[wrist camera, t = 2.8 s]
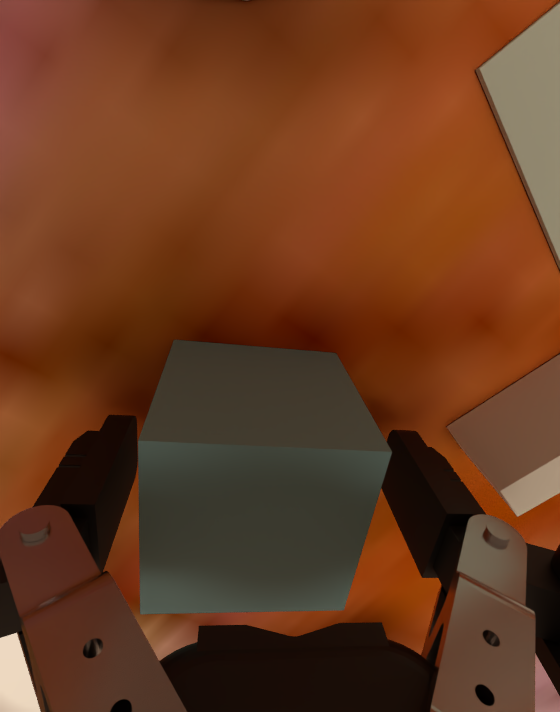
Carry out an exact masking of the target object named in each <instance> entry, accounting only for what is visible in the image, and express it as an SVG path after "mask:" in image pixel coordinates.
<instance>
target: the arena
mask: <svg viewBox="0 0 560 712" xmlns="http://www.w3.org/2000/svg"><path fill="white" fill-rule="evenodd" d="M475 71H476V73H477V75H478V78H479V80H480V82H481V85H482V87H483V90H484V92H485V94H486V97H487V99H488V101H489V104H490V106H491V109H492V111H493V113H494V116H495V118H496V120H497V123H498V125H499V127H500V130H501V132H502V135H503V137H504V139H505V142H506V144H507V146H508V149H509V151H510V154H511V156H512V158H513V161H514V163H515V165H516V168H517V170H518V172H519V175H520V177H521V180H522V182H523V184H524V187H525V189H526V191H527V194H528V196H529V199H530V201H531V203H532V206H533V208H534V210H535V213H536V215H537V217H538V220H539V222H540V225H541V227H542V229H543V232H544V234H545V236H546V239H547V241H548V244H549V246H550V248H551V251H552V253H553V255H554V258H555V260H556V262H557V265H558V267H559V270H560V2H559V3H557V4H556V5H555V6H554V7H552V8H551V9H550V10H549V11H547V12H546V13H545V14H544V15H543V16H541V17H540V18H539V19H538V20H536V21H535V22H534V23H533V24H532V25H530V26H529V27H528V28H527V29H525V30H524V31H523V32H522V33H520V34H519V35H518V36H517V37H516V38H514V39H513V40H512V41H511V42H509V43H508V44H507V45H506V46H504V47H503V48H502V49H501V50H500V51H498V52H497V53H496V54H495V55H493V56H492V57H491V58H490V59H489V60H487V61H486V62H485V63H484V64H482V65H481V66H480V67H479V68H477V69H476V70H475ZM447 429H448V430H449V431H450V433H451V434H452V436H453V437H454V439H455V440H456V441H457V443H458V444H459V446H460V447H461V449H462V450H463V451H464V452H465V454H466V455H467V456H468V457H469V458H470V460H471V461H472V462H473V463H474V464H475V466H476V467H477V468H478V469H479V471H480V472H481V473H482V474H483V475H484V477H485V478H486V479H487V480H488V481H489V483H490V484H491V485H492V486H493V487H494V489H495V490H496V491H497V492H498V494H499V495H500V496H501V497H502V498H503V500H504V501H505V502H506V503H507V504H508V506H509V507H510V508H511V509H512V510H513V512H514V513H515V514H516V515H517V517H518V516H520V515H521V514H523V513H525V512H527V511H528V510H530V509H532V508H534V507H535V506H537V505H539V504H541V503H542V502H544V501H546V500H548V499H549V498H551V497H553V496H555V495H556V494H558V493H560V354H559V355H557V356H556V357H554V358H553V359H551V360H550V361H548V362H546V363H545V364H543V365H542V366H540V367H539V368H537V369H536V370H534V371H532V372H531V373H529V374H528V375H526V376H525V377H523V378H522V379H520V380H518V381H517V382H515V383H514V384H512V385H511V386H509V387H508V388H506V389H504V390H503V391H501V392H500V393H498V394H497V395H495V396H493V397H492V398H490V399H489V400H487V401H486V402H484V403H483V404H481V405H479V406H478V407H476V408H475V409H473V410H472V411H470V412H469V413H467V414H465V415H464V416H462V417H461V418H459V419H458V420H456V421H454V422H453V423H451V424H450V425H448V426H447Z"/></svg>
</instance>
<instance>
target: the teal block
mask: <svg viewBox="0 0 560 712" xmlns="http://www.w3.org/2000/svg"><path fill="white" fill-rule="evenodd" d="M391 454H392V451H391V449H390V447H389V446H388V444H387V442H386V440H385V438H384V437H383V435H382V433H381V431H380V430H379V428H378V426H377V424H376V423H375V421H374V419H373V417H372V416H371V414H370V412H369V410H368V408H367V407H366V405H365V403H364V401H363V400H362V398H361V396H360V394H359V393H358V391H357V389H356V387H355V386H354V384H353V382H352V380H351V379H350V377H349V375H348V373H347V371H346V370H345V368H344V366H343V364H342V363H341V361H340V359H339V357H338V356H337V354H336V353H330V352H318V351H306V350H294V349H282V348H270V347H258V346H246V345H234V344H221V343H209V342H197V341H185V340H174V341H173V344H172V347H171V350H170V352H169V355H168V358H167V361H166V364H165V367H164V369H163V372H162V375H161V378H160V381H159V383H158V386H157V389H156V392H155V395H154V398H153V400H152V403H151V406H150V409H149V412H148V414H147V417H146V420H145V423H144V426H143V429H142V431H141V434H140V437H139V440H138V467H139V549H140V614H171V613H223V612H274V611H326V610H344V607H345V604H346V601H347V598H348V594H349V591H350V588H351V585H352V581H353V578H354V575H355V572H356V568H357V565H358V562H359V558H360V555H361V552H362V549H363V545H364V542H365V539H366V536H367V532H368V529H369V526H370V523H371V519H372V516H373V513H374V510H375V506H376V503H377V500H378V496H379V493H380V490H381V487H382V483H383V480H384V477H385V474H386V470H387V467H388V464H389V461H390V457H391Z"/></svg>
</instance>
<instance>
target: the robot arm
mask: <svg viewBox="0 0 560 712" xmlns="http://www.w3.org/2000/svg"><path fill="white" fill-rule="evenodd" d="M387 444H388V446H389V447H390V449H391V451H392V454H391V457H390V461H389V464H388V467H387V470H386V474H385V477H384V480H383V483H382V487H381V488H382V490H383V493H384V495H385V497H386V499H387V501H388V504H389V506H390V508H391V510H392V513H393V515H394V517H395V519H396V521H397V524H398V526H399V528H400V530H401V532H402V535H403V537H404V539H405V541H406V543H407V546H408V548H409V550H410V552H411V554H412V557H413V559H414V561H415V563H416V565H417V568H418V570H419V572H420V574H421V576H422V578H439V580H440V582H441V587H440V589H439V592H438V595H437V598H436V602H435V606H434V610H433V613H432V617H431V621H430V625H429V628H428V632H427V636H426V639H425V643H424V647H423V650H422V653H421V655H419V654H418V653H416V652H415V651H413V650H411V649H410V648H408V647H406V646H404V645H402V644H399V643H397V642H394V641H392V640H388V639H387V637H386V634H385V631H384V628H383V625H382V622H381V623H338V624H335V625H332V626H329V627H326V628H323V629H320V630H316V631H313V632H310V633H307V634H304V635H301V636H297V637H292V636H287V635H283V634H279V633H276V632H272V631H268V630H264V629H260V628H256V627H252V626H248V625H216V626H199V631H198V642H196V643H193V644H190V645H187V646H185V647H183V648H181V649H178V650H176V651H174V652H173V653H171V654H169V655H168V656H166V657H164V658H163V659H162V660H160V661H159V660H158V658H157V656H156V655H155V653H154V651H153V649H152V647H151V646H150V644H149V642H148V640H147V638H146V637H145V635H144V633H143V631H142V629H141V628H140V626H139V624H138V622H137V620H136V619H135V617H134V615H133V613H132V611H131V609H130V608H129V606H128V604H127V602H126V600H125V599H124V597H123V595H122V593H121V591H120V590H119V588H118V586H117V584H116V582H115V581H114V579H113V577H112V576H111V574H110V573H109V572H107V571H105V572H103V570H104V567H105V564H106V561H107V558H108V555H109V552H110V549H111V546H112V544H113V541H114V538H115V535H116V532H117V529H118V526H119V523H120V520H121V517H122V514H123V511H124V508H125V506H126V503H127V500H128V497H129V494H130V491H131V488H132V485H133V482H134V479H135V476H136V470H137V462H138V449H137V420H136V416H126V415H108V417H107V418H106V420H105V422H104V424H103V426H102V428H101V429H100V431H87V432H85V433H84V434H83V435H81V436H80V437H79V438H77V439H76V440H75V441H73V443H72V444H71V446H70V448H69V449H68V451H67V453H66V455H65V457H63V459H62V461H61V462H60V464H59V467H57V469H56V470H55V472H54V474H53V475H52V477H51V478H50V480H49V482H48V483H47V485H46V486H45V488H44V490H43V491H42V493H41V494H40V496H39V498H38V499H37V501H36V503H35V504H34V506H33V507H32V508H29V509H26V510H24V511H22V512H20V513H18V514H16V515H15V516H13V517H12V518H10V519H9V520H8V521H7V522H6V523H5V524H4V525H3V526H2V527H1V529H0V638H1V637H4V636H7V635H11V634H14V633H17V634H18V638H19V641H20V644H21V647H22V651H23V654H24V657H25V661H26V664H27V667H28V671H29V674H30V677H31V680H32V684H33V687H34V690H35V694H36V697H37V700H38V704H39V707H40V711H41V712H535V653H536V655H537V657H538V658H539V660H540V662H541V664H542V665H543V667H544V669H545V671H546V673H547V674H548V676H549V678H550V680H551V681H552V683H553V685H554V687H555V688H556V690H557V692H558V694H559V695H560V545H559V546H558V548H557V550H556V551H553V550H549V549H546V548H542V547H538V546H535V545H531V544H528V543H526V542H525V540H524V539H523V537H522V536H521V535H520V534H519V532H518V531H517V530H515V529H514V528H513V527H512V526H511V525H509V524H508V523H506V522H504V521H503V520H501V519H498V518H496V517H493V516H490V515H486V513H485V512H484V511H483V509H482V508H481V507H480V505H479V504H478V502H477V501H476V500H475V498H474V497H473V496H472V494H471V493H470V491H469V490H468V489H467V487H466V486H465V485H464V483H463V482H461V479H460V478H459V476H458V475H457V474H456V472H454V469H453V468H452V467H451V465H450V464H449V463H448V461H447V460H446V458H445V457H443V456H442V455H441V454H440V453H438V452H437V451H436V450H435V449H433V448H432V447H427V445H426V444H425V442H424V441H423V440H422V438H421V437H420V435H419V434H418V433H417V432H416V431H406V430H392V431H391V432H390V434H389V436H388V440H387Z"/></svg>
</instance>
